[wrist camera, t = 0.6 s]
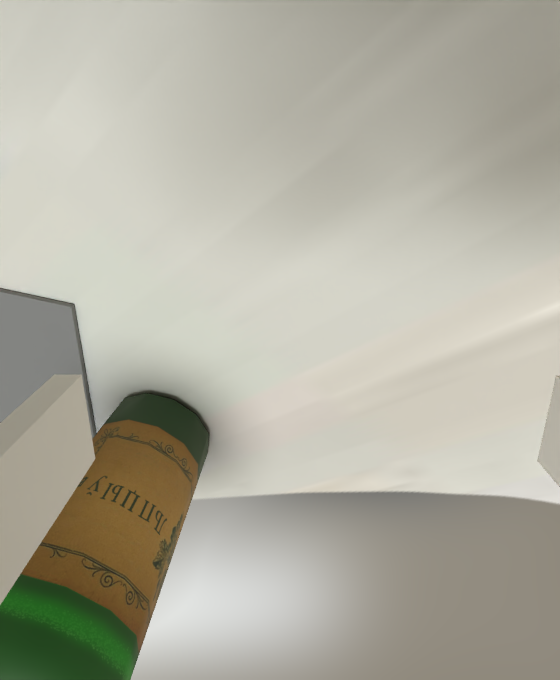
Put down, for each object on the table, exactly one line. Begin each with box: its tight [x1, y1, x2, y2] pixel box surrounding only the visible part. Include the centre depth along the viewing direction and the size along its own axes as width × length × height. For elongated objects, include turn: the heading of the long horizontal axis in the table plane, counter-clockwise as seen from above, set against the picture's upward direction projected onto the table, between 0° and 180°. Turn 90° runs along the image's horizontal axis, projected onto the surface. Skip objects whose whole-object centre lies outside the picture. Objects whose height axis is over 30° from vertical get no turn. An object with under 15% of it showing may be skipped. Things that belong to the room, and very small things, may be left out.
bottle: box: [0, 393, 209, 680], centre depth 29 cm, size 11×11×28 cm
